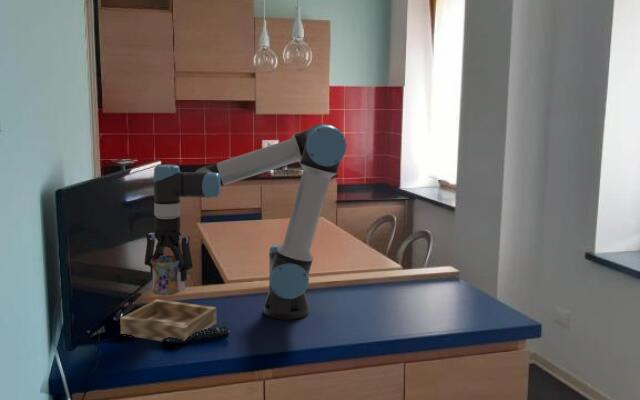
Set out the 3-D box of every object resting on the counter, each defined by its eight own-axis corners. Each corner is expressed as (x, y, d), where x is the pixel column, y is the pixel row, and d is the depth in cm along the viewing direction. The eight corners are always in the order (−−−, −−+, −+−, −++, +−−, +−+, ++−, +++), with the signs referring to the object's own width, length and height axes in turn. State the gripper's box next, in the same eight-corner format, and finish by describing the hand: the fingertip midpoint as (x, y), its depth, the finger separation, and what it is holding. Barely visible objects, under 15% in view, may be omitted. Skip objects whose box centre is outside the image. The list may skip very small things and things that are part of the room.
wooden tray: (216, 322, 193) (216, 307, 192) (185, 345, 175) (184, 327, 174) (156, 314, 199) (156, 299, 199) (120, 334, 182) (120, 318, 181)
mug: (183, 296, 181) (183, 262, 179) (151, 298, 178) (151, 263, 177) (180, 284, 192) (179, 252, 191) (149, 286, 189) (149, 253, 188)
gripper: (204, 217, 182) (205, 289, 185) (145, 211, 188) (146, 282, 192) (191, 221, 175) (192, 297, 178) (130, 215, 181) (132, 288, 185)
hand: (168, 289), depth 185 cm, fingers closed on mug, 8 cm apart
